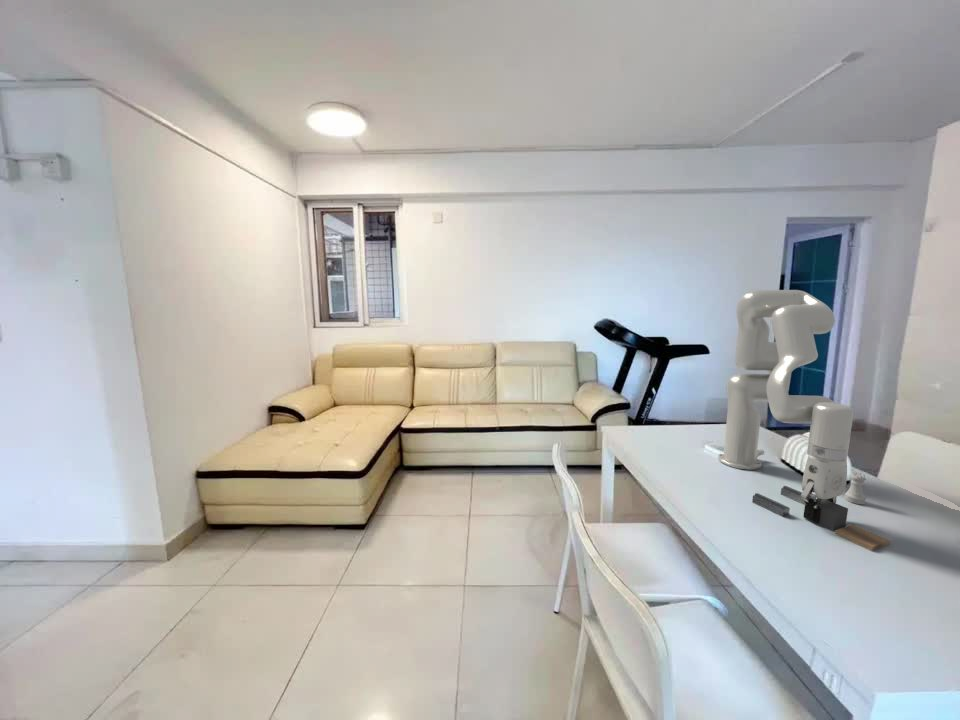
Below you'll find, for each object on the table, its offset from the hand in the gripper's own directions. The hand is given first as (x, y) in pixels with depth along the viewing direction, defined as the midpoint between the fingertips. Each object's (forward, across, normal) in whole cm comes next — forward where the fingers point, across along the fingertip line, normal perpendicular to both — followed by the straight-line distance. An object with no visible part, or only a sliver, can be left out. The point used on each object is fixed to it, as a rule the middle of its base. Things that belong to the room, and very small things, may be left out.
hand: (818, 517), depth 100 cm
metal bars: (+1, 0, +8) cm, 8 cm away
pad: (+1, 0, -9) cm, 9 cm away
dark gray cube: (+1, 0, -2) cm, 2 cm away
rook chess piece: (+1, +20, +2) cm, 20 cm away
